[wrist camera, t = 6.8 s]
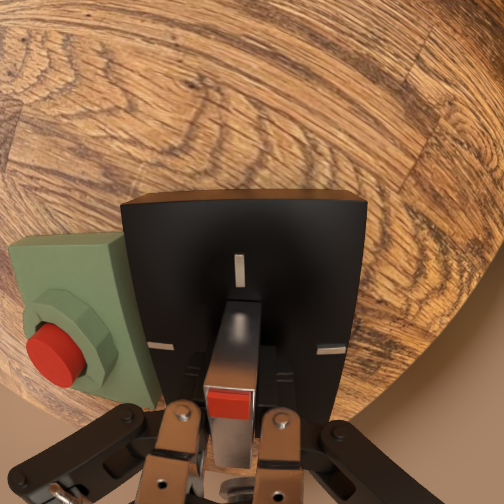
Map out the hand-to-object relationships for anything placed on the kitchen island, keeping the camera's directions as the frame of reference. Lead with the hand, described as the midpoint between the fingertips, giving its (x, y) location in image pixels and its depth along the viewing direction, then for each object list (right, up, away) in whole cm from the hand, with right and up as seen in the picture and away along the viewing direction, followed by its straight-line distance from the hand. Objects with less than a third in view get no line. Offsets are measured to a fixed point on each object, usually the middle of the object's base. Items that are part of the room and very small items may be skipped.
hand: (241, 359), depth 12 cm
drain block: (-11, 0, +5) cm, 12 cm away
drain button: (-11, -1, +1) cm, 11 cm away
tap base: (0, +1, +3) cm, 4 cm away
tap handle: (0, 0, +1) cm, 1 cm away
